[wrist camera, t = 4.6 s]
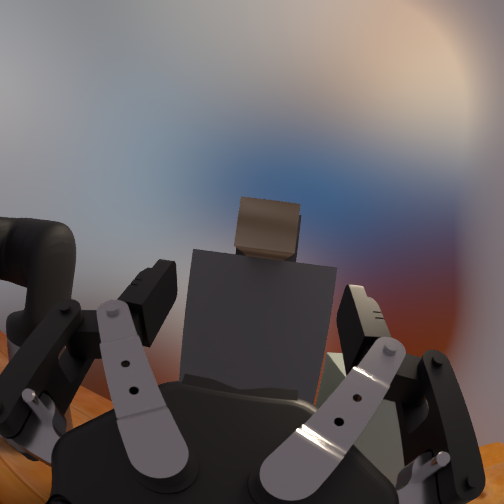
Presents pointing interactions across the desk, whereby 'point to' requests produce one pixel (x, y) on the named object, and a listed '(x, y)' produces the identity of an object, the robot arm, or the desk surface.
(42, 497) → the desk surface
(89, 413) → the desk surface
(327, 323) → the stand
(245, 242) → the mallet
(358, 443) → the stand
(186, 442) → the robot arm
